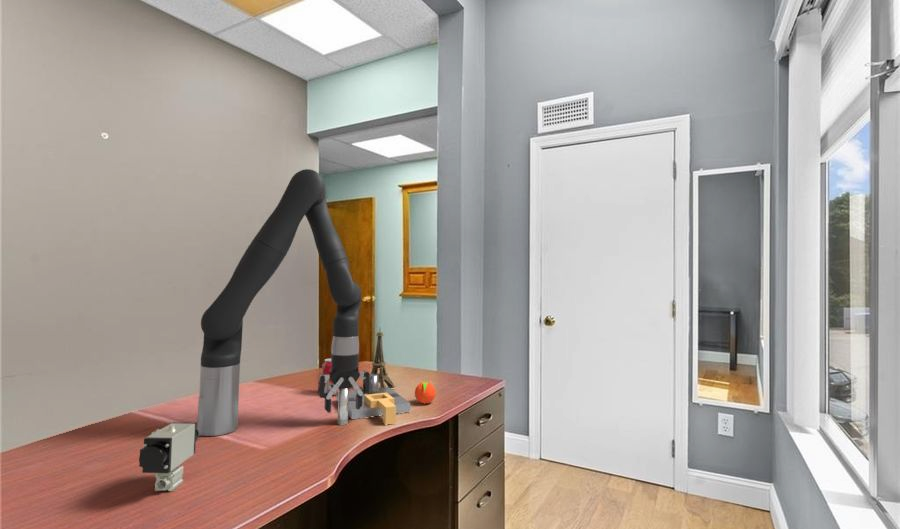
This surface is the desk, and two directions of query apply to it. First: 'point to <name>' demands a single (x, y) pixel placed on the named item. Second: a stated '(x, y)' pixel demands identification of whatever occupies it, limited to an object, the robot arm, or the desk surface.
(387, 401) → the bracket
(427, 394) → the clementine
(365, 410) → the gray fixture base
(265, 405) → the desk surface
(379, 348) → the eiffel tower
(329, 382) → the beverage can
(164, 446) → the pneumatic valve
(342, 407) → the silver metal cylinder
